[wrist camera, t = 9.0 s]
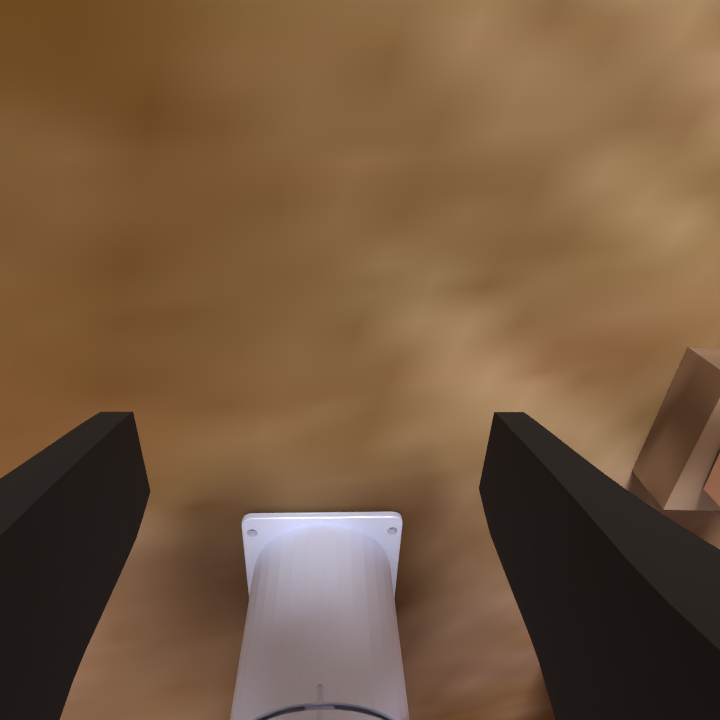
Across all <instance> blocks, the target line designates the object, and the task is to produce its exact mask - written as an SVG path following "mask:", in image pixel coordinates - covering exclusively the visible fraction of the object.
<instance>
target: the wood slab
mask: <svg viewBox="0 0 720 720" xmlns="http://www.w3.org/2000/svg"><path fill="white" fill-rule="evenodd" d="M719 453H720V349H713V348H696V347H688V348H687V350H686V352H685V355H684V357H683V359H682V361H681V363H680V366H679V368H678V370H677V372H676V375H675V377H674V379H673V381H672V383H671V386H670V388H669V390H668V392H667V395H666V397H665V399H664V401H663V404H662V406H661V408H660V410H659V412H658V415H657V417H656V419H655V421H654V424H653V426H652V428H651V430H650V432H649V435H648V437H647V439H646V441H645V444H644V446H643V448H642V450H641V452H640V455H639V457H638V459H637V461H636V464H635V466H634V468H633V470H632V472H633V473H634V474H635V475H636V477H637V478H638V479H639V480H640V482H641V483H642V484H643V485H644V486H645V488H646V489H647V490H648V491H649V493H650V494H651V495H652V496H653V498H654V499H655V500H656V501H657V503H658V504H659V505H660V506H661V508H662V509H663V510H698V511H720V506H719V505H718V504H717V503H716V502H715V501H714V500H713V499H712V498H711V497H710V496H709V495H708V494H707V492H706V491H705V490H704V486H705V484H706V482H707V480H708V477H709V475H710V473H711V471H712V469H713V466H714V464H715V462H716V460H717V458H718V455H719Z"/></svg>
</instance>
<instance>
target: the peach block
mask: <svg viewBox="0 0 720 720" xmlns="http://www.w3.org/2000/svg"><path fill="white" fill-rule="evenodd" d="M704 490H705V491H706V492H707V494H708V495H709V496H710V497H711V498H712V499H713V500H714V501H715V502H716V503H717V504H718V505H719V506H720V453H719V455H718V458H717V460H716V462H715V464H714V466H713V469H712V471H711V473H710V475H709V477H708V480H707V482H706V484H705V486H704Z"/></svg>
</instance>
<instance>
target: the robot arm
mask: <svg viewBox="0 0 720 720" xmlns="http://www.w3.org/2000/svg"><path fill="white" fill-rule="evenodd" d="M479 490H480V495H481V499H482V503H483V507H484V512H485V516H486V520H487V523H488V527H489V531H490V534H491V537H492V540H493V542H494V545H495V548H496V550H497V553H498V556H499V558H500V561H501V563H502V566H503V569H504V571H505V574H506V576H507V579H508V581H509V584H510V587H511V589H512V592H513V594H514V597H515V599H516V602H517V604H518V607H519V610H520V612H521V615H522V617H523V620H524V622H525V625H526V627H527V630H528V632H529V635H530V638H531V640H532V643H533V646H534V649H535V652H536V655H537V658H538V660H539V663H540V667H541V670H542V673H543V677H544V680H545V684H546V687H547V691H548V694H549V698H550V701H551V705H552V708H553V712H554V715H555V719H556V720H720V550H719V549H718V548H716V547H714V546H713V545H711V544H709V543H708V542H706V541H704V540H703V539H701V538H699V537H698V536H696V535H694V534H693V533H691V532H689V531H688V530H686V529H684V528H683V527H681V526H679V525H678V524H676V523H675V522H673V521H672V520H670V519H668V518H667V517H665V516H664V515H662V514H661V513H659V512H658V511H656V510H655V509H653V508H652V507H650V506H649V505H648V504H646V503H645V502H643V501H642V500H640V499H639V498H637V497H636V496H634V495H633V494H631V493H630V492H629V491H627V490H626V489H624V488H623V487H622V486H620V485H619V484H617V483H616V482H615V481H613V480H612V479H611V478H609V477H608V476H607V475H605V474H604V473H603V472H601V471H600V470H599V469H597V468H596V467H595V466H593V465H592V464H591V463H589V462H588V461H587V460H585V459H584V458H583V457H581V456H580V455H579V454H578V453H576V452H575V451H574V450H572V449H571V448H570V447H569V446H567V445H566V444H565V443H564V442H562V441H561V440H560V439H558V438H557V437H556V436H555V435H553V434H552V433H551V432H549V431H548V430H547V429H546V428H544V427H543V426H542V425H540V424H539V423H538V422H536V421H535V420H534V419H532V418H531V417H530V416H528V415H527V414H525V413H524V412H494V416H493V421H492V426H491V431H490V436H489V441H488V446H487V451H486V456H485V461H484V466H483V471H482V476H481V481H480V486H479ZM149 494H150V488H149V483H148V479H147V474H146V469H145V465H144V460H143V456H142V451H141V446H140V442H139V437H138V432H137V428H136V423H135V419H134V414H133V412H100V413H98V414H97V415H95V416H93V417H91V418H90V419H88V420H87V421H85V422H84V423H82V424H81V425H79V426H78V427H76V428H75V429H73V430H72V431H70V432H69V433H67V434H66V435H64V436H63V437H61V438H60V439H58V440H57V441H56V442H54V443H53V444H51V445H50V446H48V447H47V448H45V449H44V450H42V451H41V452H39V453H38V454H36V455H35V456H33V457H32V458H30V459H29V460H28V461H26V462H25V463H23V464H22V465H20V466H19V467H17V468H16V469H14V470H13V471H11V472H10V473H8V474H7V475H5V476H4V477H2V478H1V479H0V720H60V717H61V714H62V711H63V708H64V705H65V702H66V699H67V696H68V694H69V691H70V688H71V685H72V682H73V679H74V677H75V675H76V672H77V670H78V667H79V665H80V662H81V660H82V657H83V655H84V653H85V650H86V648H87V646H88V644H89V642H90V639H91V637H92V635H93V633H94V631H95V628H96V626H97V624H98V622H99V620H100V617H101V615H102V613H103V611H104V609H105V607H106V604H107V602H108V600H109V598H110V596H111V593H112V591H113V589H114V587H115V585H116V582H117V580H118V578H119V576H120V574H121V571H122V569H123V567H124V565H125V562H126V560H127V558H128V556H129V553H130V551H131V549H132V547H133V544H134V542H135V540H136V537H137V534H138V531H139V528H140V524H141V521H142V518H143V515H144V511H145V508H146V504H147V501H148V497H149ZM402 524H403V523H402V517H401V515H400V514H399V513H397V512H312V513H250V514H247V515H245V516H244V517H243V520H242V535H243V544H244V554H245V563H246V573H247V582H248V592H249V603H248V610H247V616H246V622H245V628H244V635H243V641H242V647H241V654H240V660H239V666H238V672H237V679H236V685H235V691H234V697H233V704H232V710H231V716H230V720H409V712H408V704H407V696H406V688H405V680H404V672H403V664H402V656H401V648H400V640H399V632H398V625H397V617H396V609H395V601H394V598H395V588H396V579H397V570H398V561H399V551H400V542H401V533H402ZM392 527H393V529H389V528H392ZM251 529H253V530H255V531H252V530H251Z"/></svg>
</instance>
